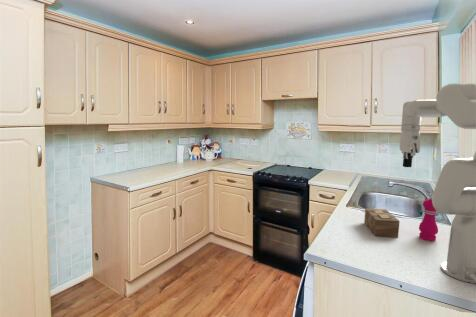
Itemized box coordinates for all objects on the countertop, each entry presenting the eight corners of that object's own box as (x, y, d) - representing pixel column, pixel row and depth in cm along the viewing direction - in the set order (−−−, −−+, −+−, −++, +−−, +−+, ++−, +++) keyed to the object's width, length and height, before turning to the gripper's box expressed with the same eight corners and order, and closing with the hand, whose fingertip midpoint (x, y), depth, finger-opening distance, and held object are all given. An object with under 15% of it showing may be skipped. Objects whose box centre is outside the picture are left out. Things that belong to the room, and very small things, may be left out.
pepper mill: (440, 242, 121) (445, 198, 118) (422, 241, 123) (426, 198, 120) (432, 235, 128) (436, 194, 125) (415, 234, 130) (419, 193, 127)
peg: (388, 234, 129) (390, 217, 128) (380, 233, 130) (381, 217, 128) (385, 230, 133) (386, 214, 132) (377, 230, 133) (378, 214, 132)
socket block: (398, 237, 126) (399, 220, 125) (375, 236, 128) (376, 219, 126) (384, 224, 142) (385, 208, 141) (364, 223, 143) (365, 208, 142)
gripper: (428, 129, 120) (424, 169, 123) (410, 127, 135) (407, 164, 138) (410, 128, 121) (406, 169, 124) (394, 127, 136) (391, 164, 139)
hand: (407, 166), depth 131 cm, fingers closed
